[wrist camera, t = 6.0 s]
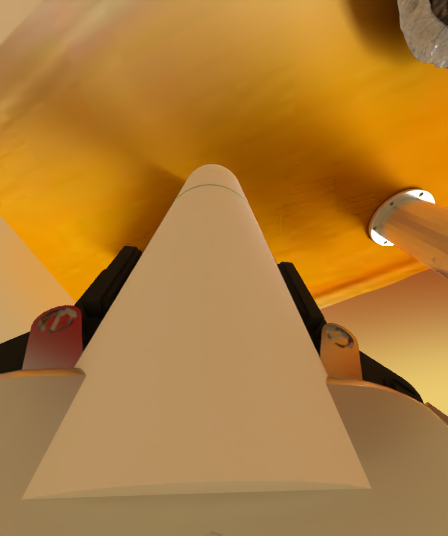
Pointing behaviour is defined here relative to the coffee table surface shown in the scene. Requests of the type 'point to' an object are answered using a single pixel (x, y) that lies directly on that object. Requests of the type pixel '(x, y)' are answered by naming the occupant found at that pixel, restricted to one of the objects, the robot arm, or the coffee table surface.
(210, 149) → the coffee table surface
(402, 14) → the stone bowl
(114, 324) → the cylindrical container
